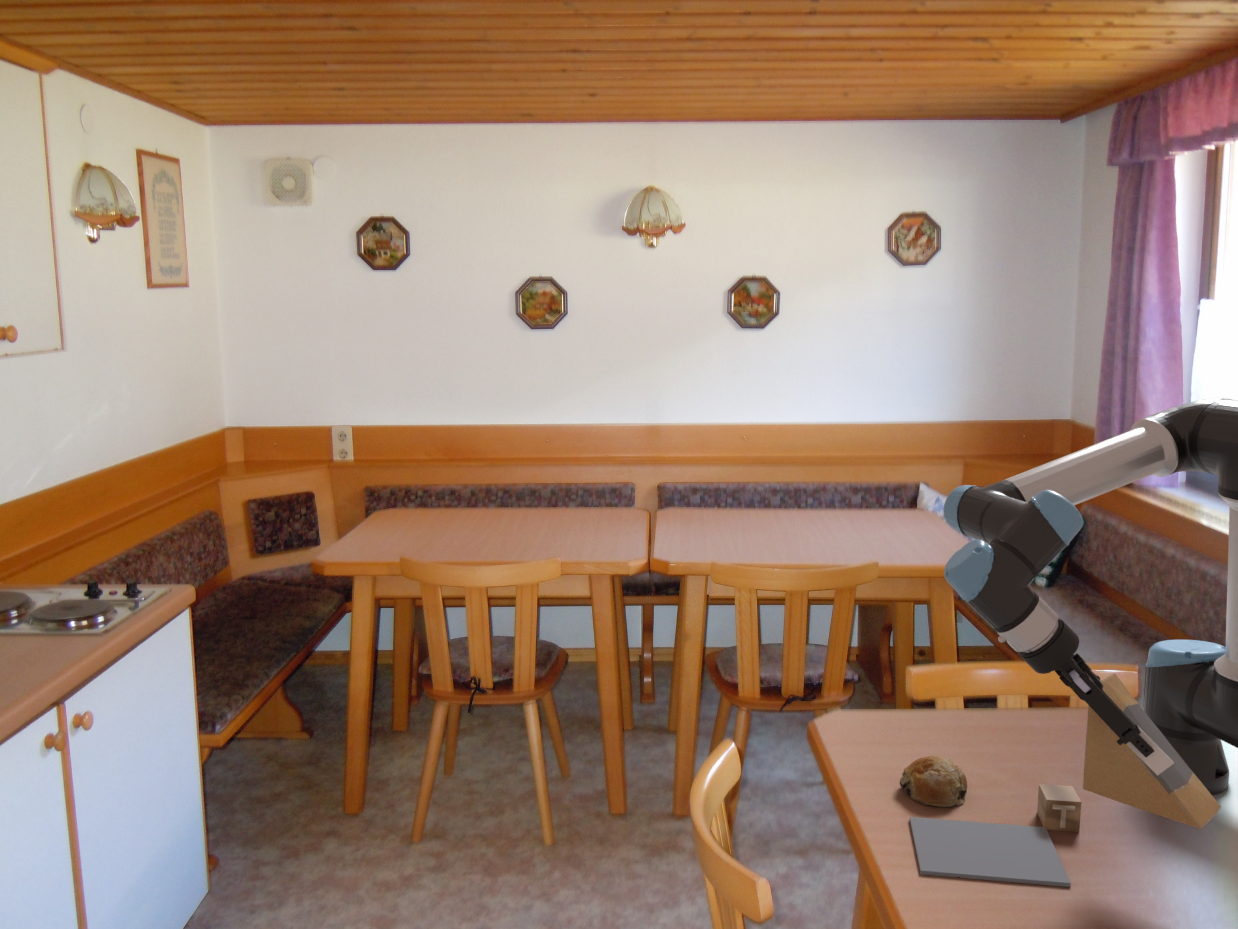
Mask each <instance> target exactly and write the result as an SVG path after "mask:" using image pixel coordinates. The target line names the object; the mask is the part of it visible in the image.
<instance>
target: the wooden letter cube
mask: <svg viewBox="0 0 1238 929" xmlns="http://www.w3.org/2000/svg"><path fill="white" fill-rule="evenodd" d="M1081 810H1082V800H1081V798H1080V797H1079V795H1078V793H1077V791H1076V789H1075V788H1074V786H1073V785H1061V784H1059V785H1058V784H1046V783H1045V784H1043V783H1039V784H1038V794H1037V809H1036V813H1037V814H1036V815H1038V818H1039V820H1040V823H1041V824H1042V827H1046V829H1047V831H1048V830H1049V831H1060V832H1071V833H1072V832H1073V833H1074V832H1075V833H1076V832H1077V833H1079V832H1080V827H1081V826H1080V825H1081V815H1082V814H1081V813H1082V811H1081Z"/></svg>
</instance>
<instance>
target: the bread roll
mask: <svg viewBox="0 0 1238 929" xmlns="http://www.w3.org/2000/svg"><path fill="white" fill-rule="evenodd" d="M901 775H902V776H901V777H900V780H899V786H900V787H901V788H902V789H903V790H904V793H905V794H906V795H907V796H908V798H911V800H913V801H915V802H918V803H920V804H922V805H925V806H933V807H937V808H939V807H940V808H951V807H952V808H953V807H954V806H957V807H960V806H961V805H963V804H964V803H965V800H964V799H965V797H966V794H967V791H968V780H967V776H966V775H965V773H964V771H963V770H962V768H961V767H960V766H958V765H957V764H956V763H954V762H953V761H952V759H950V758H948V757H941V756H938V755H937V756H936V755H933V756H932V755H929V756H928V755H927V756H924V757H920V758H917V759H915V760H914V761H912V762H911V763H910V764H908V766H906V767H904V768H903V771H902V772H901Z"/></svg>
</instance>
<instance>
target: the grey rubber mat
mask: <svg viewBox="0 0 1238 929" xmlns="http://www.w3.org/2000/svg"><path fill="white" fill-rule="evenodd" d="M909 824H910V829H911V834H912V839H913V842H914V847H915V848H914V849H915V853H916V859H917V863H918V868H919V873H920V875H922V876H923V875H925V876H935V877H947V878H957V877H960V878H959V879H969V880H970V879H972V880H982V879H983V880H985V881H996V882H1007V883H1018V884H1019V883H1020V884H1030V885H1041V886H1053V887H1055V886H1056V887H1064V888H1065V887H1067V888H1071V885H1072V884H1071V883H1072V882H1071V881H1070V878H1069V876H1068V874H1067V871H1066V870H1065V867H1064V865H1063V863H1062V860H1061V859H1060V856H1059V854H1058V852H1057V849H1056V847H1055V845H1054V842H1053V840H1052V838H1051V837H1050V834H1049V832H1048V830H1047V829H1046V827H1043V826H1034V825H1032V826H1031V825H1023V824H1020V825H1019V824H1009V823H1008V824H1007V823H993V822H982V821H981V822H980V821H969V820H956V819H955V820H954V819H941V818H929V817H915V816H914V817H913V816H910V817H909Z"/></svg>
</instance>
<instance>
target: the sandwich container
mask: <svg viewBox="0 0 1238 929" xmlns="http://www.w3.org/2000/svg"><path fill="white" fill-rule="evenodd" d="M1101 683H1102V684H1103V691H1104V692H1105V693H1106V694H1107V695H1108V696H1109V697H1110V698H1111V699H1112V701H1113V702H1114V703H1115V704H1116V705H1117V706H1118V707H1119V708H1120V709H1121V710H1122V711H1123V712H1124V714H1125V715H1126V716H1127V717H1128V718H1129V719H1130V720H1131V721H1132V722H1133V723H1134V724H1135V725H1137V726H1139V727H1140V728H1141V729H1142V730H1143V731H1144V732H1145V733H1146V734H1147V735H1148V736H1149V737H1150V739H1151V740H1152V741H1153V742H1154V743H1155V744H1156V745H1157V746H1158V747H1159V748H1160V749H1161V750H1162V751H1163V752H1164V753H1165V754H1166V755H1167V756H1168V757H1169V758H1170V759H1171V760H1172V761H1173V762H1174V764H1173V765H1171V766H1170V767H1169V768H1167V769H1166V770H1164V771H1163V772H1162V773H1160V774H1159V775H1158V776H1157V775H1156V774H1155V773H1154V772H1153V771H1152V770H1151V769H1150V768H1149V767H1148V766H1147V765H1146V764H1145V763H1144V761H1143V760H1142V759H1141V758H1140V757H1139V756H1138V755H1137V754H1136V753H1135V752H1134V751H1133V750H1132V749H1131V748H1130V747H1129V746H1128V745H1127V744H1124V743H1123V744H1122V745H1119V744H1118V743H1117V742H1116V741H1117V740H1119V739H1120V738H1119V737H1118V736H1117V735H1116V734H1115V733H1114V732H1113V731H1112V730H1111V728H1110V727H1109V726H1108V725H1107V724H1106V723H1105V722H1104V721H1103V720H1102V719H1101V718H1100V717H1099V716H1098V715H1097V714H1096V712H1095V711H1094V710H1093V709H1092V708H1091V707H1090V706H1089V705H1088V704H1087V718H1086V734H1085V735H1086V736H1085V746H1084V747H1085V748H1084V751H1085V752H1084V766H1083V780H1082V790H1085V791H1087V792H1091V793H1093V794H1095V795H1098V796H1102V797H1103V798H1104V797H1105V798H1106V799H1109V800H1113V801H1115V802H1118V803H1121V804H1124V805H1127V806H1130V807H1131V808H1136V809H1139V810H1142V811H1145V812H1148V813H1151V814H1154V815H1156V816H1159V817H1163V818H1166V819H1170V820H1173V821H1175V822H1177V823H1181V824H1184V825H1187V826H1191V827H1193V828H1197V829H1200V830H1201V829H1202V828H1204V827H1205V825H1207V824H1208V823H1209V822H1210V821H1211V820H1212V819H1213V818H1214V817H1215V816H1216V814H1218V812H1219V810H1220V809H1221V807H1222V806H1221V805H1220V803H1219V802H1218V801H1217V800H1216V799H1215V797H1214V796H1213V794H1210V792H1209V791H1208V790H1207V789H1206V788H1205V786H1204V785H1203V784H1202V783H1201V781H1200V780H1199V779H1198V778H1197V777H1196V775H1195V774H1194V773H1193V772H1192V770H1191V769H1190V768H1189V767H1188V765H1187V764H1186V763H1185V762H1184V760H1183V759H1182V758H1181V757H1180V755H1179V754H1178V753H1177V752H1176V751H1175V749H1174V748H1173V747H1172V745H1171V744H1170V743H1169V742H1168V740H1167V739H1166V738H1165V737H1164V735H1163V734H1162V733H1161V731H1160V730H1159V729H1158V728H1157V727H1156V725H1155V724H1154V723H1153V722H1152V720H1151V719H1150V718H1149V717H1148V715H1147V714H1146V713H1145V711H1144V710H1143V707H1142V706H1141V705H1140V704H1139V702H1138V701H1137V699H1135V697H1134V696H1133V694H1132V693H1131V692H1130V691H1129V689H1128V688H1127V687H1126V685H1125V684H1124V683H1123V681H1122V680H1121V679H1120V677H1119V676H1118V675H1117V674H1116V673H1115V672H1114V673H1111V674H1110V675H1109V676H1106V677H1105V678H1104V679H1103V680H1101Z"/></svg>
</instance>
